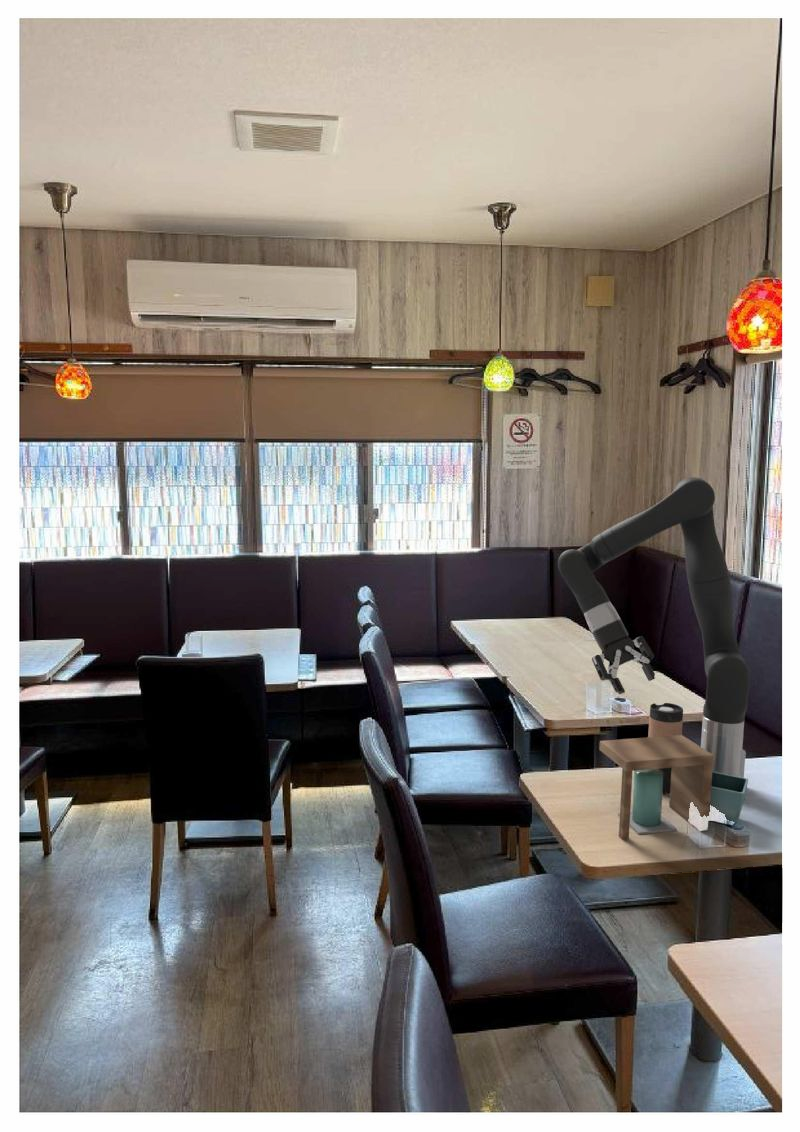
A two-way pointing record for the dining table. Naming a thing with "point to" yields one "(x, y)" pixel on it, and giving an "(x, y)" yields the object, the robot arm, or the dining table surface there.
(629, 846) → the dining table surface
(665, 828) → the mat
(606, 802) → the dining table surface
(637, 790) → the teal glossy cylinder
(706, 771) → the brown wooden shelf stand
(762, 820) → the dining table surface
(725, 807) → the flower pot
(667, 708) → the travel mug
